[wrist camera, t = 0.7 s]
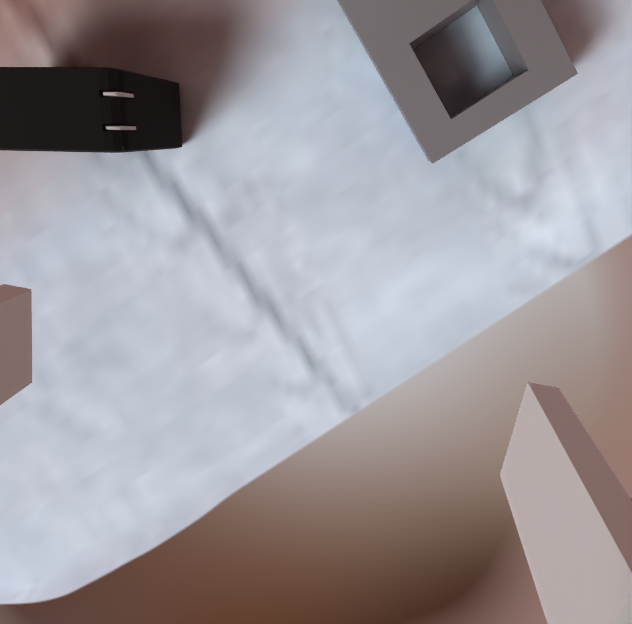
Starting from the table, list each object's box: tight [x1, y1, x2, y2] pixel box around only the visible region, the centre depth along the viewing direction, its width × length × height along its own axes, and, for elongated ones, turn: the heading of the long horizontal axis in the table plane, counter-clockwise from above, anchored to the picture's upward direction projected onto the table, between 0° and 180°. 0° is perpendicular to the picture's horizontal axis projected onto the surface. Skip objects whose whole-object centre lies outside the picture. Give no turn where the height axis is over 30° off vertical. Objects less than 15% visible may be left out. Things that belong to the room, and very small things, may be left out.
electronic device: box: [0, 67, 182, 153], centre depth 35 cm, size 4×10×10 cm, turn 89°
